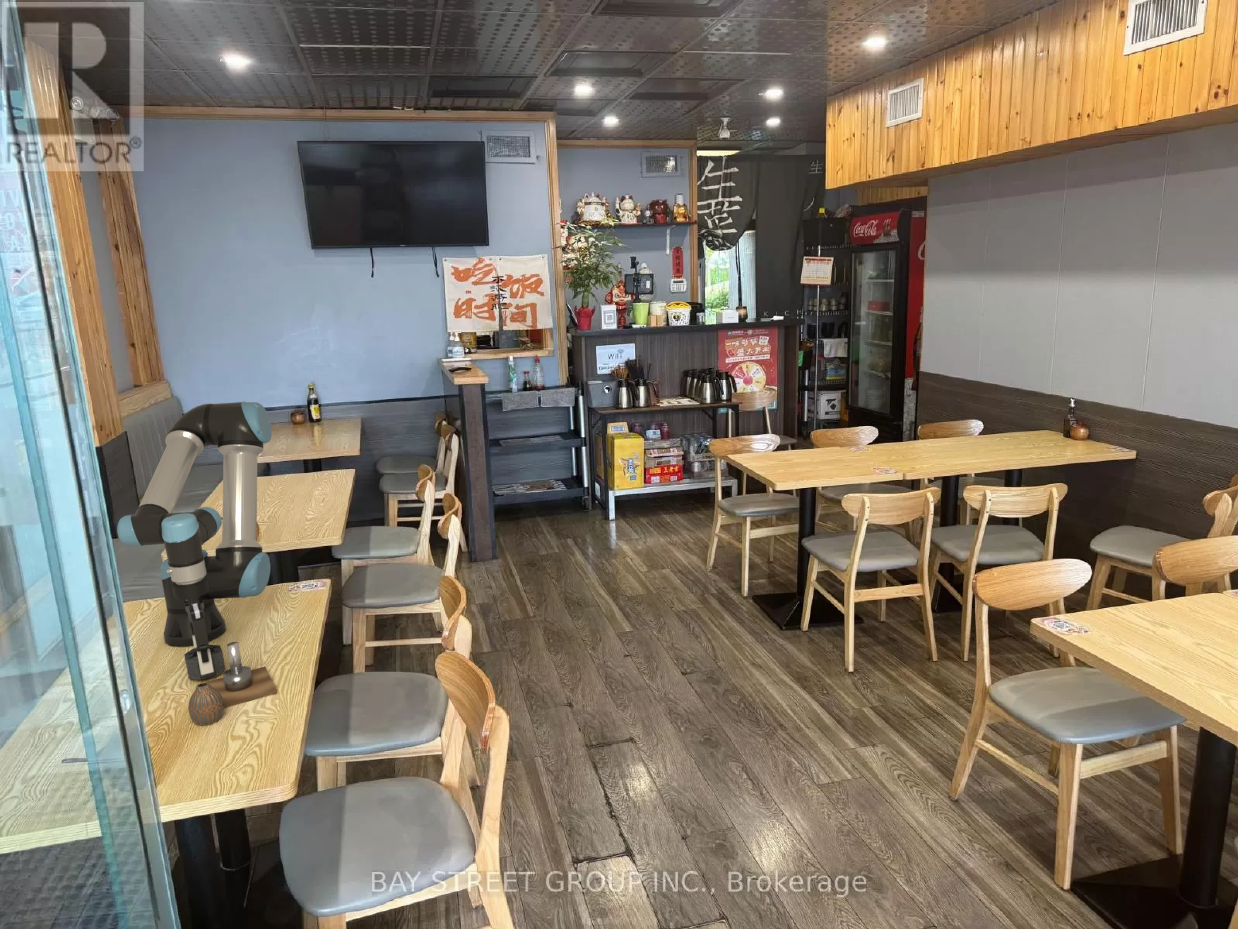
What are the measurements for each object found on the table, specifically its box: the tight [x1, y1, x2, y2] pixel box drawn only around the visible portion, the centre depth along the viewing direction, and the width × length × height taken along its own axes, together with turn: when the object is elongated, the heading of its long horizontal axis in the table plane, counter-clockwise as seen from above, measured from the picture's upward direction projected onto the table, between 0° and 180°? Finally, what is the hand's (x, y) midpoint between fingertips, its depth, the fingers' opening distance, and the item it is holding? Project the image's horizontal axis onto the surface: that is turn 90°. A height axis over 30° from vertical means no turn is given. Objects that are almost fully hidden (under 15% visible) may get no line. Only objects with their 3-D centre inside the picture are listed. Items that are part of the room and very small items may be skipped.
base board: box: [206, 666, 278, 709], centre depth 196 cm, size 14×14×1 cm
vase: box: [188, 681, 225, 726], centre depth 182 cm, size 7×7×9 cm
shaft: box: [222, 641, 253, 692], centre depth 195 cm, size 6×6×10 cm
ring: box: [183, 644, 226, 681], centre depth 203 cm, size 8×8×5 cm
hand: (204, 665), depth 203 cm, fingers closed on ring, 8 cm apart
